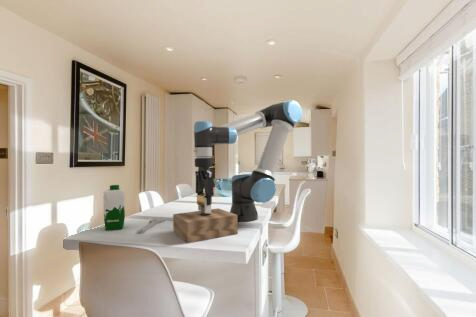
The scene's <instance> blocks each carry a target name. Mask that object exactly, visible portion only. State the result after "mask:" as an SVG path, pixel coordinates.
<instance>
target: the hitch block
mask: <svg viewBox="0 0 476 317" xmlns="http://www.w3.org/2000/svg"><path fill="white" fill-rule="evenodd" d="M172 218H173V220H172V221H173V223H172V224H173V234H175V235H176V236H178V237H179V238H180V239H182V240H183V241H184V242H186V243H187V244H190V243H191V244H192V243H197V242H203V241H207V240H212V239H217V238H223V237H230V236H235V235H238V234H239V233H238V232H239V230H238V228H239V227H238V226H239V224H238V222H239V221H238V220H237V215H236V214H233V213H230V211H228V210H223V209H221V208H211V213H209V215H207V216H201V210H194V211H188V212H187V211H186V212H181V213H174V214H172Z"/></svg>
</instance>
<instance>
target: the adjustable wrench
mask: <svg viewBox="0 0 476 317" xmlns="http://www.w3.org/2000/svg"><path fill="white" fill-rule="evenodd" d="M165 221H166V220H165V218H164V217H161V218H159V219H156V218H152V219H150V220H149V223H148V224H146V225H145V226H143V227H141V228H140V229H139V230H137V234H138V235H142V234H145V233H146V232H148V230H150V229H152V228H153V227H155V226H156V225H158V224H161V223H164V222H165Z"/></svg>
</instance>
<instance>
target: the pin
mask: <svg viewBox="0 0 476 317" xmlns="http://www.w3.org/2000/svg"><path fill="white" fill-rule="evenodd" d="M204 196H205V194H203V195H196V205H197V206H198V205H201V210H200V211H201V216H207V215H209V213H205V201H204ZM212 198H213V196H212V197H211V205H212V204H213V199H212Z"/></svg>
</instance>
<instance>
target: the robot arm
mask: <svg viewBox="0 0 476 317" xmlns="http://www.w3.org/2000/svg"><path fill="white" fill-rule="evenodd" d="M302 119H303V109H302V106H301V105H300V104H299V103H298V102H297V101H296V100H291V99H290V100H285V101H282V102H279V103H274V104H271V105H268V106H267V107H265V108H262V109H260V110H258V111H256V112H255V113H253V114H251V115H249V116H245V117H242V118H240V119H236V120H234V121H231V122H228V123H224V124H222V125H219V126H214V125H213V124H212V121H208V120H198V121H196V122H194V126H193V138H194V140H193V141H194V149H193V153H194V157H195V159H194V167H195V168H198V169H197V170H195V172H194V173H195V174H194V175H195V193H196V194H197V195H203V194H205V196H204V201H205V213H211V209H212V204H211V197H212V198H213V197H214V196H215V193H214V172H213V171H211V170H210V168H211V167H213V146H214V145H231V144H232V145H233V144H235V143H236V142H237V139H238V136H239V135H243V134H246V133H248V132H251V131H254V130H257V129H265V128H268V127H270V128H271V127H272V128H271V130H270V133H269V136H268V138H267V140H266V143H265V147H264V148H263V152H262V154H261V156H260V159H259V162H258V165H257V166H256V168H255V169H253V170H252V171H251V173H244V174H243V173H242V174H235V175H233V176H232V177H231V182H230V184H231V206H230V210H229V212H230V213H233V214H236V215H237V220H238V222H240V223H241V222H252V221H256V220H258V219H259V214H258V211H257V207H256V204H255V202H256V203H262V204H265V203H268V202H269V201H271V200H272V199H273V198H274V197H275V194H276V192H277V187H276V183H275V180H276V178H275V176H274V174H275V171H276V168H277V165H278V163H279V161H280V157H281V154H282V151H283V149H284V146H285V144H286V141H287V138H288V135H289V133H290V132H293V131H294V130H293V129H294V127H295V125H296V124H298V123H299V122H301V121H302ZM197 195H196V196H197ZM197 211H201V205H198V204H197Z"/></svg>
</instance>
